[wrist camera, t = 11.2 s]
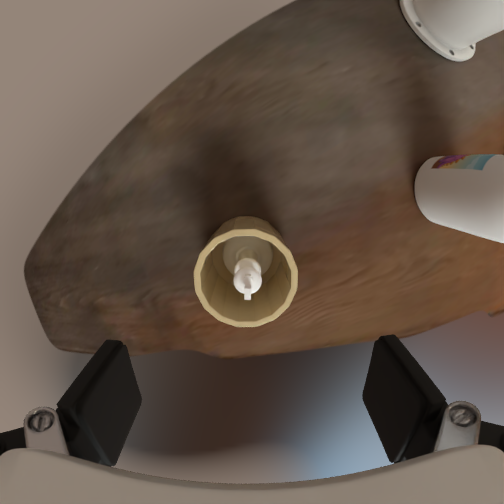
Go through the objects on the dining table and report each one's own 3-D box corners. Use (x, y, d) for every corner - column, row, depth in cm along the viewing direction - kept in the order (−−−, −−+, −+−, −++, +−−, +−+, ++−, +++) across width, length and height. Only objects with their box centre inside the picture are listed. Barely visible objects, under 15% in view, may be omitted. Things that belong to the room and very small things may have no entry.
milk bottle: (451, 231, 28) (582, 281, 9) (404, 211, 28) (557, 257, 8) (464, 171, 27) (598, 185, 7) (419, 146, 26) (570, 134, 7)
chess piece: (222, 277, 29) (210, 324, 19) (222, 228, 28) (208, 253, 18) (271, 278, 29) (283, 325, 19) (274, 229, 28) (288, 255, 18)
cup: (206, 217, 28) (190, 230, 20) (284, 215, 28) (298, 228, 20) (210, 290, 30) (198, 327, 22) (284, 289, 30) (296, 325, 22)
